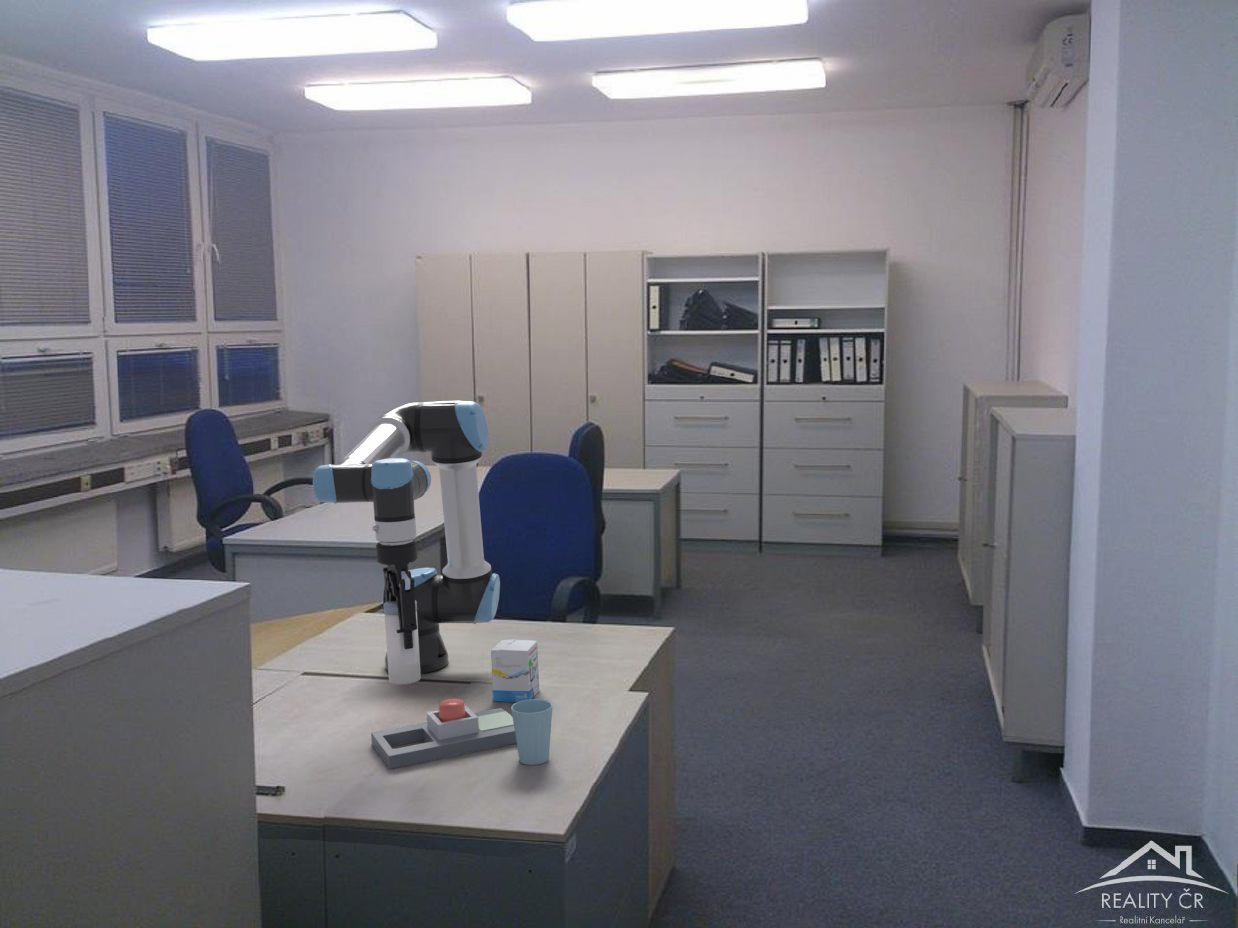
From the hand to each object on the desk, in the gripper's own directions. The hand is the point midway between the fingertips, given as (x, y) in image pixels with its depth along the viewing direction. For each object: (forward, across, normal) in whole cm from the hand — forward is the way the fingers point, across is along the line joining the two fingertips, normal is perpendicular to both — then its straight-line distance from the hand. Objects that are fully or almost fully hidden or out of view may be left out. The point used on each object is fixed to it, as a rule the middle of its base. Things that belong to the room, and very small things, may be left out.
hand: (403, 659), depth 211 cm
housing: (+18, 0, +8) cm, 20 cm away
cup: (+18, +17, +19) cm, 32 cm away
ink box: (+19, -19, +29) cm, 40 cm away
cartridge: (+4, 0, 0) cm, 4 cm away
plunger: (+15, 0, +9) cm, 18 cm away
